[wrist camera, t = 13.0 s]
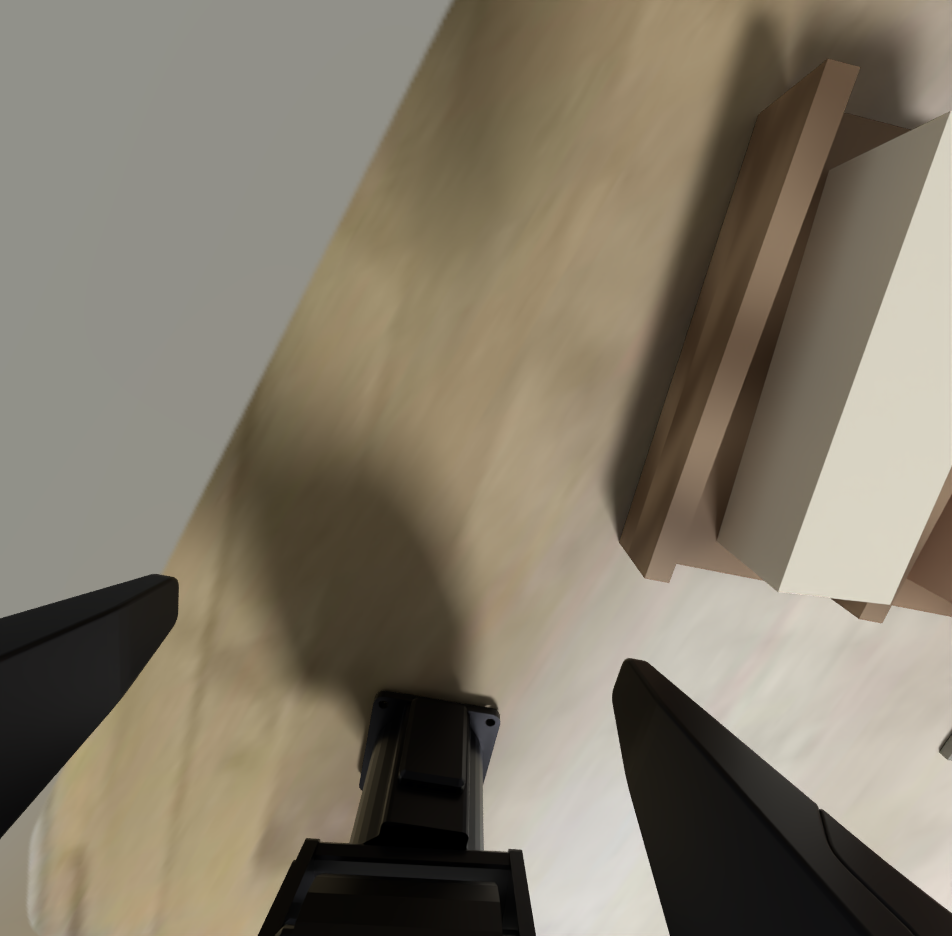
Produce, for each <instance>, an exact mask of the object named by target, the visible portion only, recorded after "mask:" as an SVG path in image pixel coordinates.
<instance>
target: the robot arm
mask: <svg viewBox="0 0 952 936" xmlns="http://www.w3.org/2000/svg"><path fill="white" fill-rule="evenodd" d="M178 597H179V584H178V580H177V579H176V578H175V577H170V576H165V575H159V574H151V575H148V576H144V577H141V578H138V579H134V580H131V581H127V582H124V583H121V584H117V585H113V586H110V587H106V588H103V589H100V590H96V591H93V592H89V593H86V594H82V595H79V596H76V597H72V598H69V599H66V600H62V601H58V602H55V603H52V604H48V605H45V606H41V607H38V608H35V609H31V610H27V611H24V612H21V613H17V614H14V615H11V616H7V617H3V618H0V839H1V837H2V836H3V835H4V834H5V833H6V832H7V830H8V829H9V828H10V827H11V826H12V825H13V824H14V822H15V821H16V820H17V819H18V818H19V817H20V816H21V814H22V813H23V812H24V811H25V810H26V809H27V807H28V806H29V805H30V804H31V803H32V802H33V801H34V799H35V798H36V797H37V796H38V795H39V793H40V792H41V791H42V790H43V789H44V788H45V787H46V785H47V784H48V783H49V782H50V781H51V780H52V779H53V777H54V776H55V775H56V774H57V773H58V772H59V771H60V769H61V768H62V767H63V766H64V765H65V764H66V762H67V761H68V760H69V759H70V758H71V757H72V756H73V754H74V753H75V752H76V751H77V750H78V749H79V747H80V746H81V745H82V744H83V743H84V742H85V741H86V739H87V738H88V737H89V736H90V735H91V734H92V732H93V731H94V730H95V729H96V728H97V727H98V726H99V724H100V723H101V722H102V721H103V720H104V719H105V717H106V716H107V715H108V714H109V713H110V712H111V710H112V709H113V708H114V707H115V706H116V704H117V703H118V702H119V701H120V700H121V698H122V697H123V696H124V694H125V693H126V692H127V691H128V689H129V688H130V687H131V685H132V684H133V682H134V681H135V680H136V678H137V677H138V675H139V674H140V673H141V671H142V670H143V668H144V667H145V666H146V664H147V663H148V661H149V660H150V659H151V657H152V656H153V655H154V653H155V652H156V650H157V649H158V648H159V646H160V645H161V643H162V642H163V641H164V639H165V638H166V636H167V635H168V634H169V632H170V631H171V629H172V628H173V626H174V625H175V623H176V620H177V617H178ZM382 701H386V702H385V703H384V702H382ZM612 703H613V709H614V714H615V720H616V725H617V731H618V736H619V742H620V748H621V753H622V759H623V764H624V770H625V774H626V779H627V784H628V787H629V791H630V795H631V799H632V802H633V806H634V809H635V813H636V817H637V820H638V824H639V827H640V831H641V834H642V838H643V841H644V845H645V849H646V852H647V856H648V859H649V863H650V866H651V870H652V873H653V877H654V881H655V884H656V888H657V891H658V895H659V898H660V902H661V905H662V909H663V913H664V916H665V920H666V923H667V927H668V930H669V934H670V936H952V913H951V912H949V911H948V910H947V909H946V908H944V907H943V906H942V905H940V904H939V903H938V902H936V901H935V900H934V899H933V898H931V897H930V896H929V895H928V894H926V893H925V892H924V891H922V890H921V889H920V888H919V887H917V886H916V885H915V884H914V883H912V882H911V881H910V880H908V879H907V878H906V877H905V876H903V875H902V874H901V873H900V872H898V871H897V870H896V869H894V868H893V867H892V866H891V865H889V864H888V863H887V862H886V861H884V860H883V859H882V858H881V857H879V856H878V855H877V854H876V853H875V852H873V851H872V850H871V849H870V848H869V847H867V846H866V845H865V844H864V843H862V842H861V841H860V840H859V839H858V838H856V837H855V836H854V835H853V834H851V833H850V832H849V831H848V830H847V829H845V828H844V827H843V826H842V825H841V824H839V823H838V822H837V821H836V820H835V819H834V818H832V817H831V816H830V815H829V814H828V813H827V812H825V811H824V810H822V809H819V808H818V806H817V804H816V803H814V802H813V801H812V800H811V799H810V798H808V797H807V796H806V795H805V794H804V793H803V792H801V791H800V790H799V789H798V788H797V787H795V786H794V785H793V784H792V783H791V782H789V781H788V780H787V779H786V778H785V777H783V776H782V775H781V774H780V773H779V772H778V771H776V770H775V769H774V768H773V767H772V766H770V765H769V764H768V763H767V762H766V761H764V760H763V759H762V758H761V757H760V756H758V755H757V754H756V753H755V752H754V751H753V750H751V749H750V748H749V747H748V746H747V745H745V744H744V743H743V742H742V741H741V740H739V739H738V738H737V737H736V736H735V735H733V734H732V733H731V732H730V731H729V730H728V729H726V728H725V727H724V726H723V725H722V724H720V723H719V722H718V721H717V720H716V719H714V718H713V717H712V716H711V715H710V714H708V713H707V712H706V711H705V710H704V709H703V708H701V707H700V706H699V705H698V704H697V703H695V702H694V701H693V700H692V699H691V698H689V697H688V696H687V695H686V694H685V693H684V692H682V691H681V690H680V689H679V688H678V687H676V686H675V685H674V684H673V683H672V682H670V681H669V680H668V679H667V678H666V677H664V676H663V675H662V674H661V673H660V672H659V671H657V670H656V669H655V668H654V667H653V666H651V665H650V664H649V663H648V662H646V661H643V660H637V659H632V658H627V659H625V660H624V662H623V664H622V666H621V669H620V672H619V674H618V677H617V680H616V683H615V686H614V688H613V693H612ZM488 719H493V720H488ZM499 726H500V714H499V712H498V711H497V710H495V709H492V708H486V707H480V706H474V705H469V704H463V703H457V702H451V701H445V700H439V699H433V698H427V697H421V696H415V695H409V694H403V693H397V692H392V691H380V692H378V693H377V694H376V696H375V700H374V703H373V709H372V715H371V721H370V726H369V732H368V738H367V743H366V749H365V755H364V760H363V766H362V772H361V777H360V783H359V788H360V789H361V790H362V795H361V799H360V803H359V807H358V811H357V815H356V819H355V823H354V827H353V831H352V835H351V839H350V842H349V843H332V842H320V839H311V838H306V840H305V842H304V844H303V846H302V848H301V850H300V852H299V854H298V857H297V859H296V860H294V861H293V862H292V864H291V866H290V868H289V870H288V873H287V875H286V877H285V879H284V881H283V883H282V885H281V887H280V890H279V892H278V894H277V896H276V898H275V900H274V902H273V904H272V906H271V909H270V911H269V913H268V915H267V917H266V919H265V921H264V923H263V925H262V928H261V930H260V932H259V934H258V936H536V933H535V927H534V921H533V915H532V909H531V903H530V896H529V890H528V884H527V878H526V872H525V866H524V859H523V853H522V850H518V849H508V852H501V851H484V837H483V783H484V780H485V776H486V773H487V769H488V765H489V762H490V758H491V755H492V751H493V747H494V744H495V740H496V737H497V733H498V730H499Z"/></svg>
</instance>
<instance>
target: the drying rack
mask: <svg viewBox="0 0 952 936" xmlns="http://www.w3.org/2000/svg"><path fill="white" fill-rule="evenodd" d="M860 68H861V67H858V66H854V65H850V64H847V63H843V62H839V61H835V60H831V59H827V60H826V61H824V62H823V63H822V64H821V65H819V66H818V67H817V68H816V69H814V70H813V71H812V72H811V73H810V74H808V75H807V76H806V77H805V78H803V79H802V80H801V81H800V82H798V83H797V84H796V85H795V86H793V87H792V88H791V89H790V90H788V91H787V92H786V93H785V94H783V95H782V96H781V97H780V98H778V99H777V100H776V101H775V102H773V103H772V104H771V105H770V106H768V107H767V108H766V109H765V110H764V111H762V112H761V113H760V114H759V115H758V118H757V121H756V124H755V127H754V130H753V133H752V136H751V139H750V142H749V145H748V148H747V152H746V155H745V158H744V161H743V164H742V167H741V170H740V173H739V176H738V179H737V182H736V185H735V188H734V191H733V194H732V198H731V201H730V204H729V207H728V210H727V213H726V216H725V219H724V222H723V225H722V228H721V231H720V234H719V237H718V240H717V244H716V247H715V250H714V253H713V256H712V259H711V262H710V265H709V268H708V271H707V274H706V277H705V280H704V283H703V286H702V290H701V293H700V296H699V299H698V302H697V305H696V308H695V311H694V314H693V317H692V320H691V323H690V326H689V329H688V332H687V335H686V339H685V342H684V345H683V348H682V351H681V354H680V357H679V360H678V363H677V366H676V369H675V372H674V375H673V378H672V381H671V385H670V388H669V391H668V394H667V397H666V400H665V403H664V406H663V409H662V412H661V415H660V418H659V421H658V424H657V427H656V431H655V434H654V437H653V440H652V443H651V446H650V449H649V452H648V455H647V458H646V461H645V464H644V467H643V470H642V473H641V477H640V480H639V483H638V486H637V489H636V492H635V495H634V498H633V501H632V504H631V507H630V510H629V513H628V516H627V519H626V522H625V526H624V529H623V532H622V535H621V538H620V541H619V543H620V544H621V546H622V547H623V549H624V550H625V551H626V553H627V554H628V556H629V557H630V558H631V560H632V561H633V563H634V564H635V565H636V567H637V568H638V570H639V571H640V573H641V574H642V575H643V577H644V578H645V579H651V580H656V581H661V582H667V583H669V582H670V579H671V577H672V574H673V571H674V568H675V566H676V564H680V565H685V566H690V567H695V568H701V569H706V570H711V571H716V572H721V573H727V574H732V575H737V576H742V577H748V578H753V579H758V580H763V579H762V578H761V577H759V576H758V575H757V574H756V573H754V572H753V571H752V570H751V569H750V568H748V567H747V566H746V565H745V564H744V563H742V562H741V561H740V560H739V559H738V558H736V557H735V556H734V555H733V554H732V553H730V552H729V551H728V550H727V549H726V548H724V547H723V546H722V545H721V544H720V543H718V542H717V538H718V535H719V531H720V528H721V525H722V522H723V518H724V515H725V512H726V508H727V505H728V502H729V499H730V495H731V492H732V489H733V485H734V482H735V479H736V475H737V472H738V469H739V466H740V462H741V459H742V456H743V452H744V449H745V446H746V443H747V439H748V436H749V433H750V429H751V426H752V423H753V420H754V416H755V413H756V410H757V406H758V403H759V400H760V396H761V393H762V390H763V387H764V383H765V380H766V377H767V373H768V370H769V367H770V364H771V360H772V357H773V354H774V350H775V347H776V344H777V340H778V337H779V334H780V331H781V327H782V324H783V321H784V317H785V314H786V311H787V308H788V304H789V301H790V298H791V294H792V291H793V288H794V285H795V281H796V278H797V275H798V271H799V268H800V265H801V261H802V258H803V255H804V252H805V248H806V245H807V242H808V238H809V235H810V232H811V229H812V225H813V222H814V219H815V215H816V212H817V209H818V206H819V202H820V199H821V196H822V192H823V189H824V186H825V182H826V179H827V176H828V173H829V170H831V169H833V168H835V167H837V166H839V165H841V164H843V163H845V162H847V161H849V160H851V159H853V158H855V157H857V156H859V155H861V154H863V153H866V152H868V151H870V150H872V149H874V148H876V147H878V146H880V145H882V144H884V143H886V142H888V141H890V140H892V139H894V138H896V137H898V136H901V135H903V134H905V133H907V132H909V131H911V130H910V129H906V128H902V127H898V126H894V125H890V124H887V123H883V122H879V121H875V120H871V119H867V118H863V117H859V116H856V115H852V114H848V113H844V111H845V108H846V105H847V103H848V100H849V97H850V94H851V92H852V89H853V86H854V84H855V81H856V78H857V76H858V73H859V70H860ZM951 494H952V466H951V469H950V471H949V473H948V475H947V478H946V480H945V482H944V484H943V487H942V489H941V491H940V494H939V496H938V498H937V500H936V503H935V505H934V507H933V509H932V512H931V514H930V516H929V518H928V521H927V523H926V525H925V527H924V530H923V532H922V534H921V536H920V539H919V541H918V543H917V545H916V548H915V550H914V552H913V554H912V557H911V559H910V561H909V563H908V566H907V568H906V570H905V572H904V575H903V577H902V579H901V581H900V584H899V586H898V588H897V590H896V593H895V595H894V597H893V600H892V602H891V604H890V605H887V604H878V603H870V602H861V601H852V600H843V599H834V598H831V599H832V600H834V601H835V602H836V603H838V604H839V605H840V606H842V607H843V608H845V609H846V610H847V611H849V612H850V613H851V614H853V615H854V616H856V617H857V618H858V619H862V620H867V621H872V622H878V623H883V621H884V619H885V617H886V615H887V613H888V611H889V610H890V608H891V606H892V605H893V606H898V607H904V608H909V609H914V610H919V611H924V612H930V613H935V614H940V615H945V616H950V617H952V603H950V602H948V601H947V600H945V599H943V598H941V597H939V596H937V595H936V594H934V593H932V592H930V591H928V590H927V589H925V588H923V587H921V586H919V585H917V584H916V583H914V582H912V581H910V580H908V579H907V576H908V574H909V572H910V571H911V569H912V567H913V565H914V563H915V561H916V559H917V558H918V556H919V554H920V552H921V550H922V548H923V546H924V545H925V543H926V541H927V539H928V537H929V535H930V533H931V532H932V530H933V528H934V526H935V524H936V522H937V520H938V519H939V517H940V515H941V513H942V511H943V509H944V507H945V506H946V504H947V502H948V500H949V498H950V496H951ZM763 581H764V580H763Z"/></svg>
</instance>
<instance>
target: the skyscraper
mask: <svg viewBox="0 0 952 936" xmlns="http://www.w3.org/2000/svg"><path fill="white" fill-rule="evenodd" d="M939 753H941V754H942V755H943V756H944V757H945V758H946V759H947V760H951V761H952V735H951V736H950V738H949V739H948V741H947V742H946V744H945V745H944V746H943V748H942V749H941V751H940V752H939Z"/></svg>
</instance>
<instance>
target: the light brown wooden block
mask: <svg viewBox="0 0 952 936" xmlns="http://www.w3.org/2000/svg"><path fill="white" fill-rule="evenodd" d="M907 579H908V580H910V581H912V582H914V583H916V584H917V585H919V586H921V587H923V588H925V589H927V590H928V591H930V592H932V593H934V594H936V595H937V596H939V597H941V598H943V599H945V600H947V601H948V602H950V603H952V494H951V496H950V498H949V500H948V502H947V504H946V506H945V507H944V509H943V511H942V513H941V515H940V517H939V519H938V520H937V522H936V524H935V526H934V528H933V530H932V532H931V533H930V535H929V537H928V539H927V541H926V543H925V545H924V546H923V548H922V550H921V552H920V554H919V556H918V558H917V559H916V561H915V563H914V565H913V567H912V569H911V571H910V572H909V574H908V576H907Z"/></svg>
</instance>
